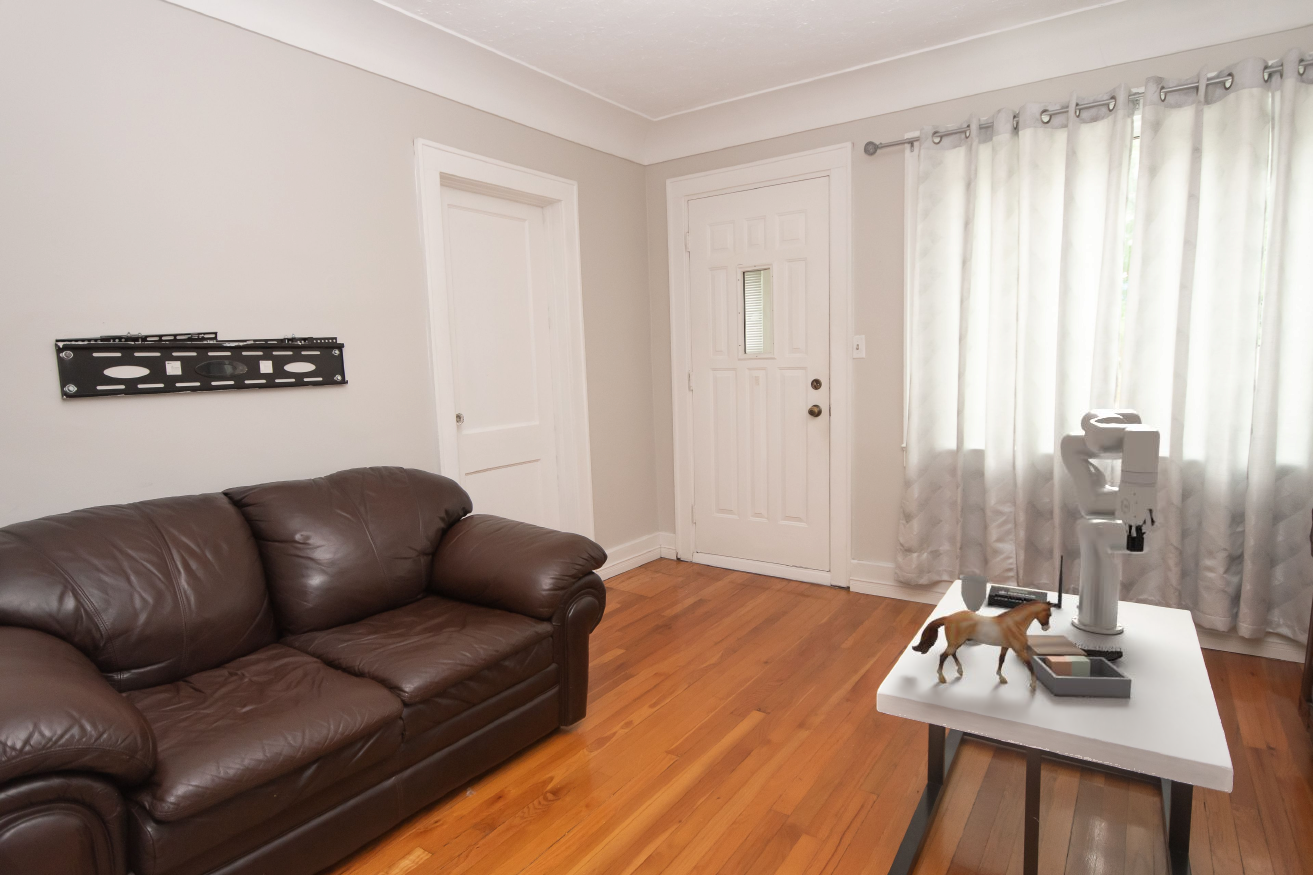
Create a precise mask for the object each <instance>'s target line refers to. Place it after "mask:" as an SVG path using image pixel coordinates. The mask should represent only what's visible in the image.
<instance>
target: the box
mask: <svg viewBox="0 0 1313 875" xmlns="http://www.w3.org/2000/svg"><path fill="white" fill-rule="evenodd" d="M1086 658H1087V659H1088V660H1090V677H1069V676H1056V675H1055V674H1054V673H1053V672H1052V671H1051V670H1050V669H1049V668H1048V667H1047V666H1046V656H1032V665H1033V668H1034V673H1035V677H1036V681H1038V682H1039V683H1040V684H1041V685H1042V686H1043V687H1044V688H1045V689H1046V690H1047V691H1048V692H1049V693H1050V694H1051V695H1052V696H1053V697H1057V698H1058V697H1062V698H1065V697H1067V698H1094V699H1095V698H1097V699H1098V698H1103V699H1131V695H1132V693H1131V692H1132V679H1131V677H1129V676H1128V675H1126V674H1125V673H1124V672H1123V671H1121V670H1120V669H1119V668H1117V667H1116V666H1115V665H1114V664H1112V662H1108V661H1107V660H1106V659H1105V658H1103V657H1086Z"/></svg>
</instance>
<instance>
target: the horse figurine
mask: <svg viewBox="0 0 1313 875" xmlns="http://www.w3.org/2000/svg"><path fill="white" fill-rule="evenodd" d="M1050 602H1051V600H1047V602H1044V603H1043V602H1041V601H1037V600H1036V601H1031V602H1026V603H1023V604H1021V605H1019V606H1017V607H1015V608H1013V609H1012V608H1009V610H1006V611H1003V612H1001V613H1000V614H997V615H993V616H988V615H983V614H979V613H976V612H975V613H974V612H971V611H970V610H968V609H967V610H965V609H963V610H960V611H955V612H954V613H951V614H949V615H947V616H946V615H945V616H941V617H938V618H936V619H933V620H932V621H930V622H929V623H927V625H926V626H925V627H924V629H923V631H921V632H922V633H921V635H920V640H919V642H918V644H917V645H912V646H911V649H912V650H913V651H914V652H915V653H917V652H918V653H920V654H921V655H926V654H927V653H928V652H929V651H930V649H931V648H932V647H933V646H934V645H935V644H936V642H937V641H938V639H939V629H940V628H941V627H943V626H944V627H943V629H944V630H943V631H944V636H945V641H946V643H947V646H946V647H945V649H944V651H943V652H941V653H940V654H939V662H938V663H939V664H938V667H937V669H936V674H938V676H937V679H938V681H939V682H941V683H947V679H946V676H945V675H944V672H943V670H944V669H943V668H944V664H945V662H946V661H947V659H948V658H949V657H950V656H951V657H952V659H953V661H954V663H955V666H956V667H957V669H956V673H957V675H958V676H960V678H963V676H964V670H963V666H962V662H960V659H959V658H958V656H957V652H958V650H959V649H960V648H961V647H962V646H963V645H965V644H966V643H965V642H966V641H972V640H974V641H976V642H979V643H982V644H981V645H987V646H993V647H1000V653H999V655H998V656H999V657H998V666H997V670H996V671H995V672H996V676H998V679H999V682H1000V683H1001V684H1008V681H1007V679H1006V678H1007V677H1005V676H1004V675H1003V674H1002V668H1003V665H1004V663H1005V661H1006V655H1007V653H1008V651H1009V649H1011V651H1013V653H1015V654H1016V656H1017V657H1018V658H1019V659H1020V660H1021V661H1022V663H1024V665H1025V666H1026V667H1027V670H1028V671H1029V673H1030V680H1031V682H1029V685H1028V686H1029V688H1030V689H1031V690H1032V691H1033V692H1036V690H1037V684H1036V682H1037V679H1036V677H1035V673H1034V668H1033V665H1032V663H1031V662H1030V659H1029V657H1028V654H1027V652H1026V650H1025V648H1026V646H1027V644H1028V638H1027V635H1028V633H1027V631H1028V629H1029V628H1030V627H1031V625H1032V623H1033V622H1034V620H1035V619H1036V622H1038V623H1039V624H1040V628H1041V630H1042V631H1043V632H1047V631H1048V630H1049V629H1050V628H1051V624H1050V618H1051V617H1052V616H1053V613H1052V609H1051V608H1053V607H1055V606H1054V604H1052V605H1048V604H1049V603H1050Z"/></svg>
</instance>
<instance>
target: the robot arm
mask: <svg viewBox="0 0 1313 875" xmlns="http://www.w3.org/2000/svg"><path fill="white" fill-rule="evenodd" d="M1080 427H1081V429H1082V431H1081V430H1079V431H1073V432H1068V433H1067V434H1065V435H1064V436H1063V437H1062V438H1061V441H1060V445H1059V446H1060V456H1061V460H1062V463H1063V465H1064V467H1065V469H1066V471H1067V472H1068V474H1069V476H1070V478H1071V479H1072V480H1071V481H1072V482H1073V487H1074V493H1075V497H1076V502H1077V506H1078V509H1079V512H1080V514H1081V515H1082V516H1083V517H1084V518H1085V519H1084V520H1083V521H1081V523H1079V525H1078V530H1077V532H1078V540H1079V550H1080V569H1079V570H1080V571H1079V590H1078V604H1077V605H1076V609H1077V612H1078V613H1077V615H1074V616H1073V617H1071V624H1072V625H1073V626H1075V627H1076V628H1078V629H1080V630H1083V631H1086V632H1089V633H1096V634H1103V635H1116V634H1120V633H1122V632H1124V625H1123V624H1122V623H1121V622H1120V621H1118V613H1119V612H1118V609H1119V596H1120V577H1121V576H1120V573H1121V571H1120V566H1119V564H1118V563H1117V561H1116V560H1115V559H1114V558H1113V557H1112V556H1111V554H1112V553H1114V554H1117V553H1119V554H1137V555H1138V554H1145V553H1148V552H1149V551H1150V550H1151V549H1152V546H1153V542H1154V540H1153V533H1152V531H1153V529H1152V528H1153V527H1154V526H1156V524H1157V519H1158V491H1157V486H1158V477H1159V476H1158V475H1159V462H1160V461H1159V460H1160V446H1161V445H1160V443H1161V433H1160V431H1159V430H1158V429H1156V428H1152V427H1151V426H1150V425H1149V424H1148V425H1147V424H1143V422H1142V419H1141V416H1140V414H1138V412H1136V411H1135V410H1132V409H1128V408H1127V409H1124V408H1123V409H1120V408H1119V409H1114V408H1113V409H1111V408H1110V409H1107V408H1106V409H1104V408H1102V409H1101V408H1100V409H1092V410H1090V411H1088V412H1086V413H1085V414H1084V415H1083V416H1082V418H1081V420H1080ZM1090 460H1108V461H1111V460H1112V461H1115V460H1119V461H1120V460H1121V462H1120V464H1121V465H1120V479H1119V480H1120V481H1119V484H1118V487H1112V486H1110V485H1108V482H1107V477H1106V474H1105V473H1104V472H1103V471H1102V470H1101V469H1100V468H1099V467H1098V466H1097V465H1095V464H1094V463H1093V462H1091V461H1090Z"/></svg>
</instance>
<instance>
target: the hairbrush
mask: <svg viewBox="0 0 1313 875" xmlns="http://www.w3.org/2000/svg"><path fill="white" fill-rule="evenodd" d="M1083 645H1084V644H1078V645H1077V647H1079V648H1080V649H1081V650H1082V651H1084V652H1085V653H1086V654H1087V657H1103V658H1105V659H1106V660H1107V661H1108V662H1110V663H1113V662H1116V661H1118V660H1120V659H1121V658H1123V656H1124V652H1123V651H1122V648H1121V647H1120V646H1119V647H1116V646H1115V647H1114V646H1111V648H1110V647H1108V648H1107V647H1105V648H1101V645H1100V646H1098V648H1097V646H1094V648H1090V645H1087V644H1086V646H1087V648H1086V646H1084V647H1080V646H1083ZM1114 649H1115V650H1114ZM1118 649H1119V650H1118Z"/></svg>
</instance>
